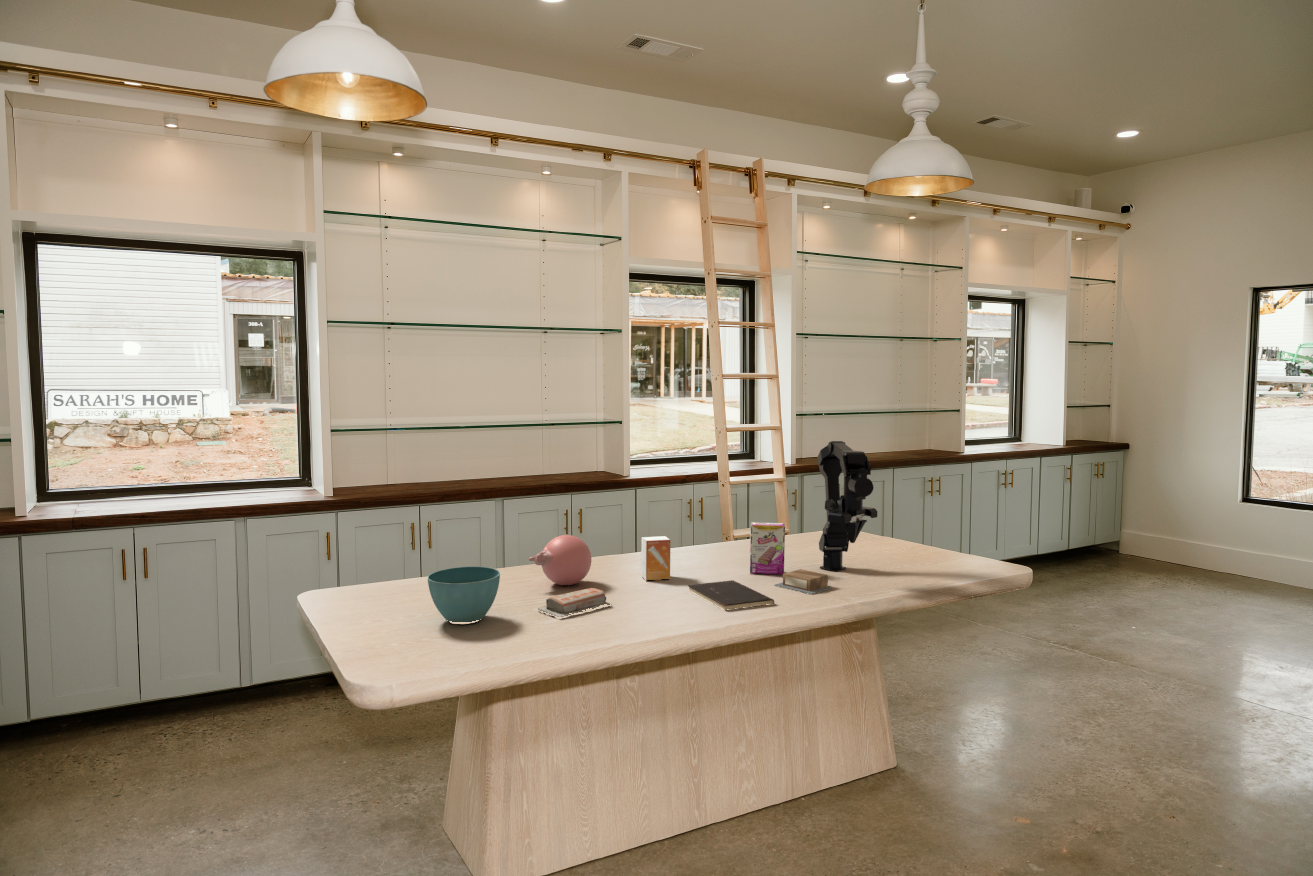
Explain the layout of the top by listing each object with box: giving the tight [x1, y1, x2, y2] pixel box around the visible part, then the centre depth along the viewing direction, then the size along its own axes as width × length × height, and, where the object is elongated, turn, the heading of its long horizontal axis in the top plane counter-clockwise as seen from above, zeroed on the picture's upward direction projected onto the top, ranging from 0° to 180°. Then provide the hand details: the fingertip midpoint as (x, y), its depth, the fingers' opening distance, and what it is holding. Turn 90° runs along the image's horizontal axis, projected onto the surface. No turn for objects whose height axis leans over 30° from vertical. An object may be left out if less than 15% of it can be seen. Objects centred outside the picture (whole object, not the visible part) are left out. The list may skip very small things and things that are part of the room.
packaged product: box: [537, 587, 611, 617], centre depth 212 cm, size 18×5×10 cm
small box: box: [640, 535, 671, 581], centre depth 246 cm, size 8×6×13 cm
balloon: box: [528, 534, 592, 586], centre depth 237 cm, size 15×20×15 cm
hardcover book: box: [687, 579, 775, 611], centre depth 224 cm, size 16×23×2 cm
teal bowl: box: [427, 565, 501, 622], centre depth 201 cm, size 18×18×12 cm
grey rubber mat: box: [773, 582, 833, 595], centre depth 236 cm, size 10×14×1 cm
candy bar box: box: [749, 521, 786, 576], centre depth 253 cm, size 11×5×16 cm, turn 84°
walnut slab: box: [782, 568, 829, 591], centre depth 236 cm, size 4×10×9 cm
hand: (852, 542), depth 238 cm, fingers closed
